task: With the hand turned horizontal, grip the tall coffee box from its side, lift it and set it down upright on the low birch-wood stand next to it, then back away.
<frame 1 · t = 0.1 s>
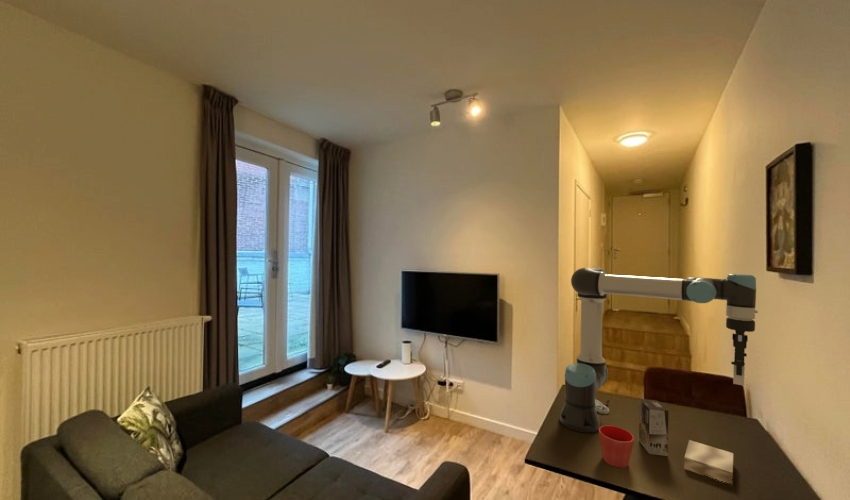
hand: (738, 379, 123), 28 cm above the table, tool pointing down, fingers open, 13 cm apart
stand: (708, 466, 118), on the table
game controller: (601, 407, 162), on the table
flower pot: (615, 461, 121), on the table
coffee box: (652, 448, 129), on the table
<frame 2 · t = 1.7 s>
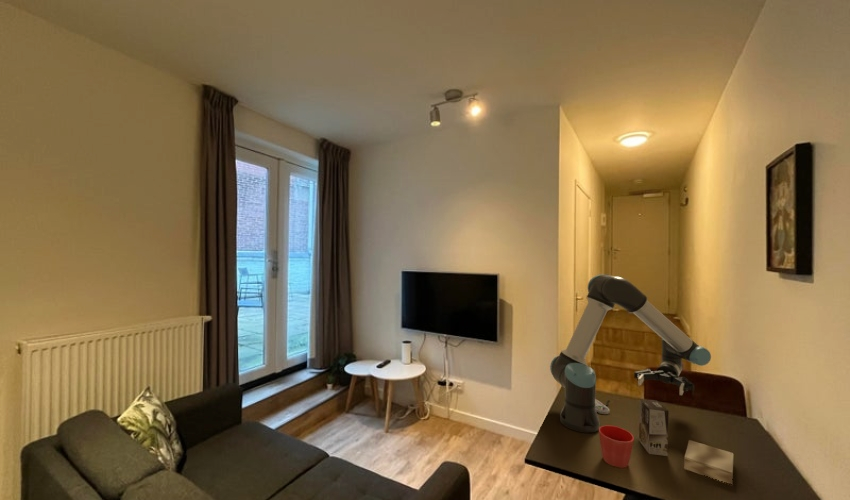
hand: (659, 386, 136), 20 cm above the table, tool horizontal, fingers open, 13 cm apart
nothing on the table moved.
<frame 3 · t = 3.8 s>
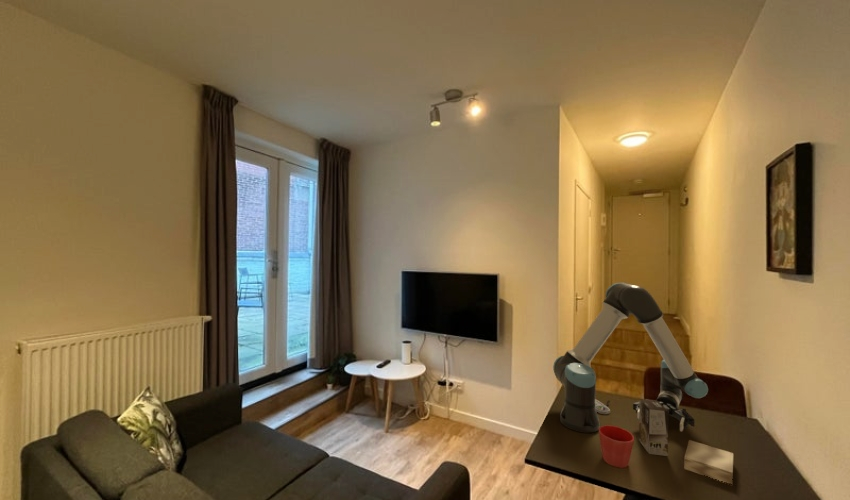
hand: (658, 421, 133), 8 cm above the table, tool horizontal, fingers open, 13 cm apart
nothing on the table moved.
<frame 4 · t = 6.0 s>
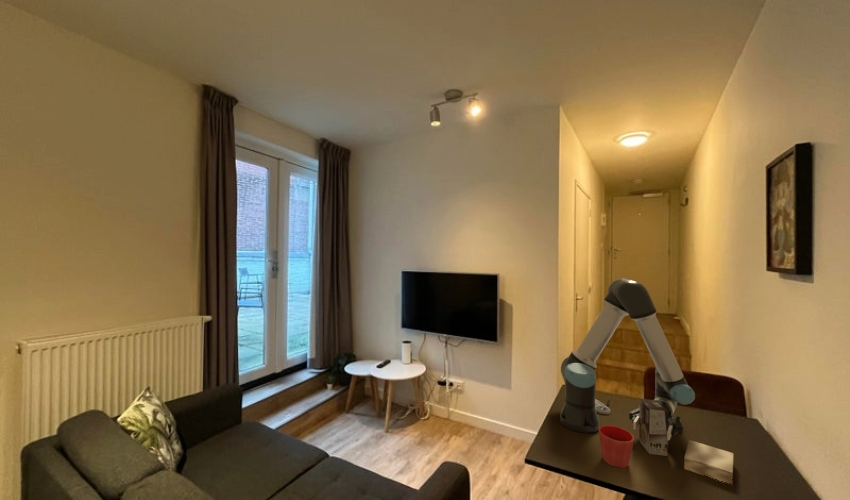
hand: (650, 430, 125), 8 cm above the table, tool horizontal, fingers closed on coffee box, 10 cm apart
coffee box: (653, 448, 128), on the table, touching gripper
everything else where it was.
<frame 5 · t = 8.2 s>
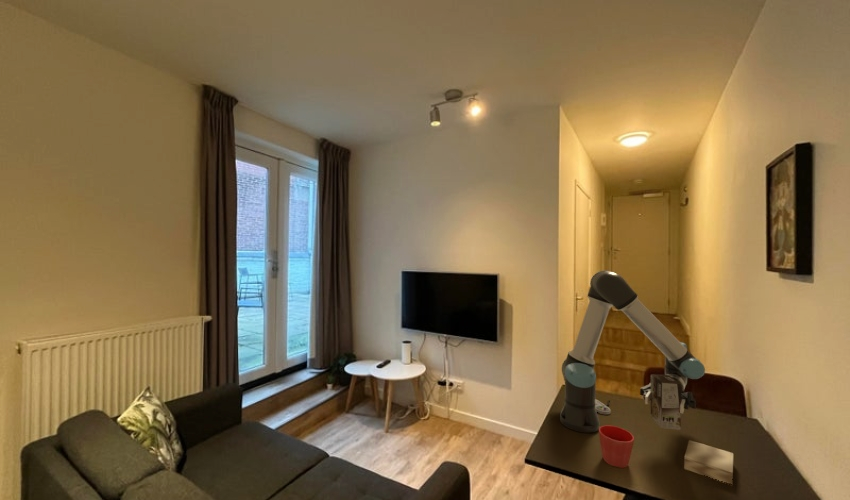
hand: (663, 404, 123), 18 cm above the table, tool horizontal, fingers closed on coffee box, 10 cm apart
coffee box: (665, 423, 126), point 10 cm above the table, touching gripper
everything else where it was.
when the fingers open (13 cm above the table, at t = 10.7 s): coffee box drops 1 cm, resting on stand.
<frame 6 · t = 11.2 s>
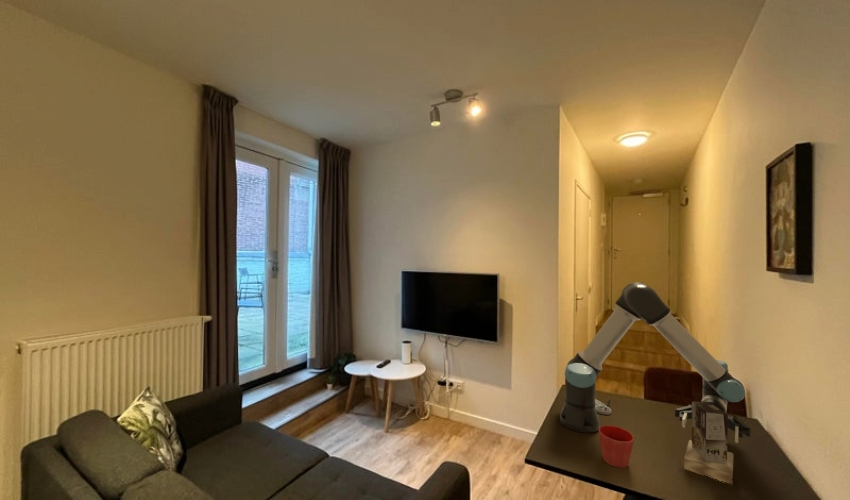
hand: (708, 430, 115), 13 cm above the table, tool horizontal, fingers open, 13 cm apart
coffee box: (708, 455, 118), point 4 cm above the table, touching stand
everything else where it was.
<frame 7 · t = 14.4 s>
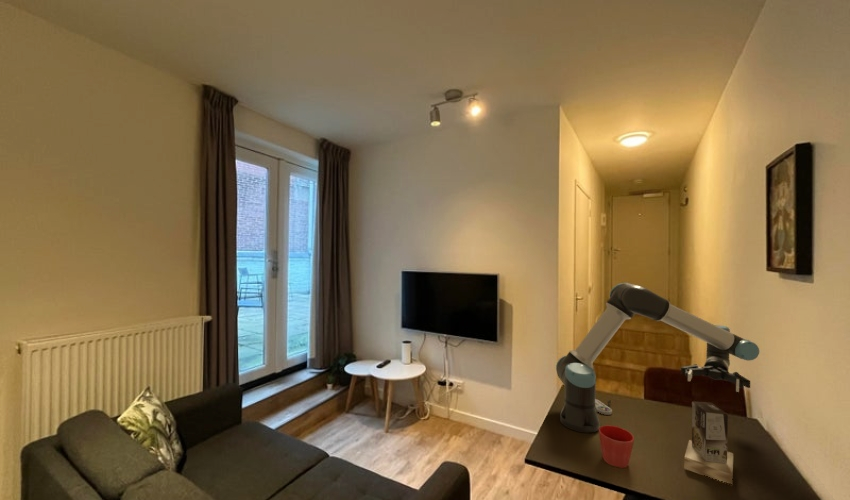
hand: (712, 382, 127), 25 cm above the table, tool horizontal, fingers open, 13 cm apart
nothing on the table moved.
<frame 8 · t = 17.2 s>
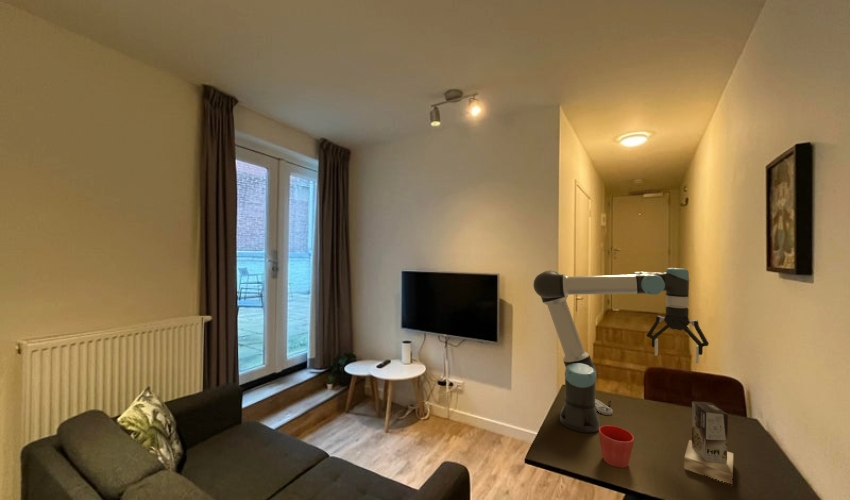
hand: (676, 358, 142), 29 cm above the table, tool pointing down, fingers open, 13 cm apart
at the end: coffee box inside the target area on the stand (0.1 cm from its centre), point 3.8 cm above the stand's base; coffee box tilted 0°; the gripper is holding nothing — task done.
